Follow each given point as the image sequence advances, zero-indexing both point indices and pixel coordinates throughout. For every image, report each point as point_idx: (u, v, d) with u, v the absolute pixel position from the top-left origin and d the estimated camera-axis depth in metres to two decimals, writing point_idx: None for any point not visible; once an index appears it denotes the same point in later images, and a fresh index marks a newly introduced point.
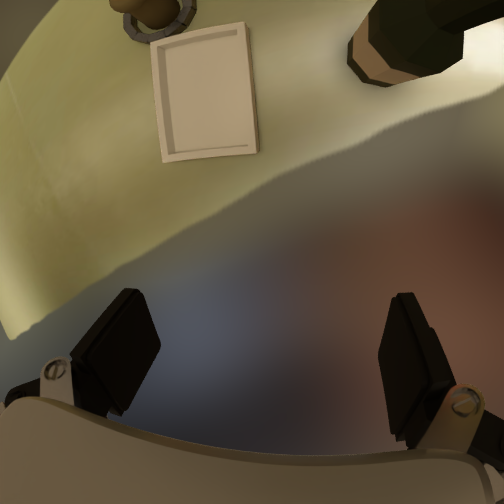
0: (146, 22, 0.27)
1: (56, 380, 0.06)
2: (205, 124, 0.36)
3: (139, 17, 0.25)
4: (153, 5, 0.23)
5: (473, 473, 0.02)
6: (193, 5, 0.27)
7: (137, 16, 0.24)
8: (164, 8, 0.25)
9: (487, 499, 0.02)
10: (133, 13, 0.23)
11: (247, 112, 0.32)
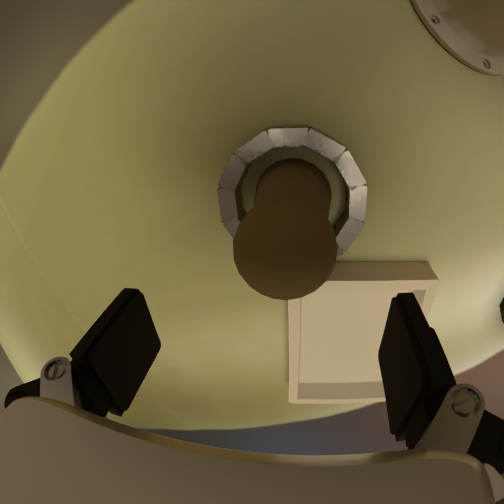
0: None
1: (56, 380, 0.06)
2: (341, 366, 0.30)
3: None
4: None
5: (473, 473, 0.02)
6: None
7: None
8: None
9: (487, 499, 0.02)
10: None
11: None
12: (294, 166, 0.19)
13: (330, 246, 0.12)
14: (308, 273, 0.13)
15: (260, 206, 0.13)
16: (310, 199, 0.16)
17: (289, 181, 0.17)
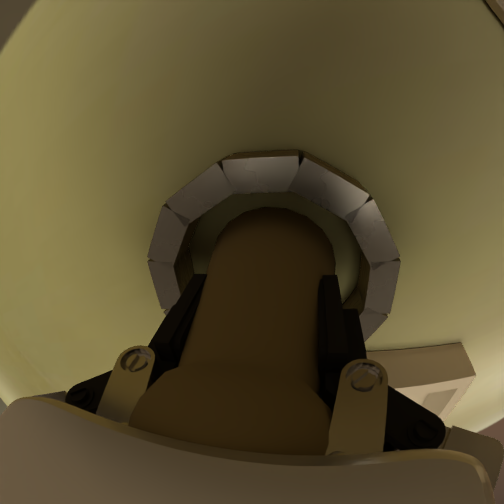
0: None
1: (132, 372, 0.07)
2: None
3: None
4: None
5: (473, 473, 0.02)
6: None
7: None
8: None
9: (487, 499, 0.02)
10: None
11: None
12: (272, 228, 0.11)
13: None
14: None
15: (160, 406, 0.05)
16: (294, 333, 0.07)
17: (255, 278, 0.09)
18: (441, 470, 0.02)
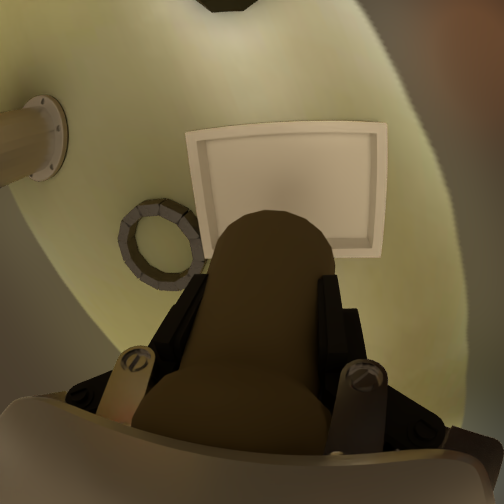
0: None
1: (132, 372, 0.07)
2: (337, 191, 0.27)
3: None
4: None
5: (473, 473, 0.02)
6: (157, 202, 0.29)
7: None
8: None
9: (487, 499, 0.02)
10: None
11: (327, 128, 0.22)
12: (271, 231, 0.11)
13: None
14: None
15: (160, 409, 0.05)
16: (293, 336, 0.07)
17: (254, 281, 0.09)
18: (441, 470, 0.02)
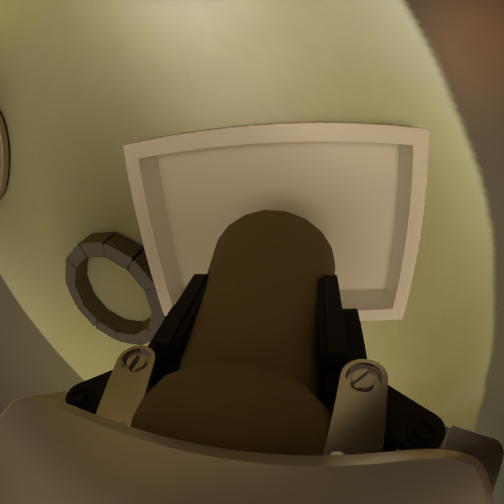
0: None
1: (132, 372, 0.07)
2: (347, 228, 0.18)
3: None
4: None
5: (473, 473, 0.02)
6: (102, 239, 0.21)
7: None
8: None
9: (487, 499, 0.02)
10: None
11: (338, 135, 0.14)
12: (271, 231, 0.11)
13: None
14: None
15: (160, 409, 0.05)
16: (293, 336, 0.07)
17: (254, 281, 0.09)
18: (441, 470, 0.02)
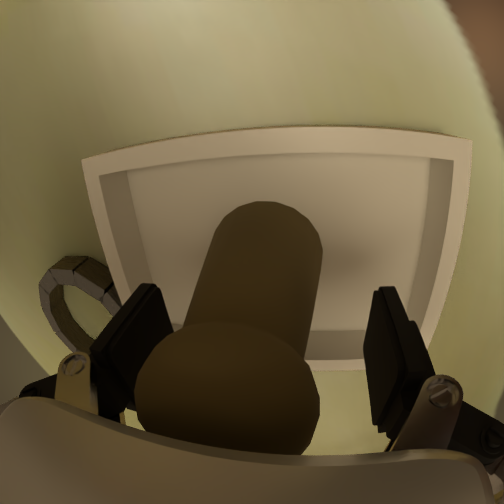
0: None
1: (74, 376, 0.06)
2: (362, 261, 0.14)
3: None
4: None
5: (473, 473, 0.02)
6: (73, 265, 0.17)
7: None
8: None
9: (487, 499, 0.02)
10: None
11: (358, 144, 0.10)
12: (261, 218, 0.12)
13: (301, 433, 0.05)
14: None
15: (162, 356, 0.06)
16: (277, 302, 0.09)
17: (244, 258, 0.10)
18: (441, 470, 0.02)
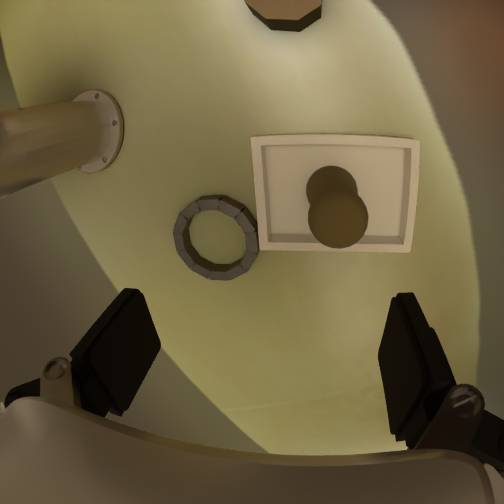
0: None
1: (56, 380, 0.06)
2: (375, 195, 0.30)
3: None
4: None
5: (473, 473, 0.02)
6: (216, 198, 0.33)
7: None
8: None
9: (487, 499, 0.02)
10: None
11: (372, 142, 0.25)
12: (334, 170, 0.28)
13: (365, 213, 0.21)
14: (354, 228, 0.21)
15: (325, 191, 0.22)
16: (349, 189, 0.24)
17: (334, 179, 0.26)
18: (441, 470, 0.02)
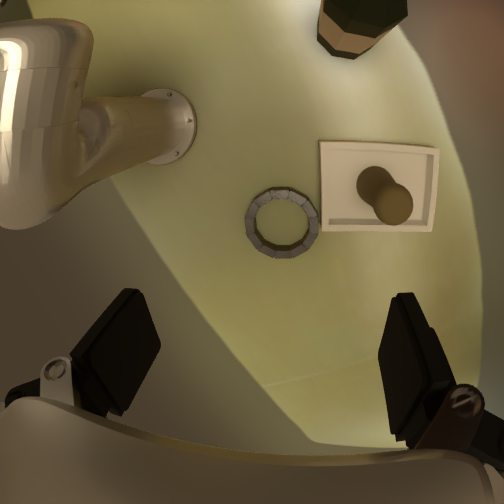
0: None
1: (56, 380, 0.06)
2: None
3: None
4: None
5: (473, 473, 0.02)
6: (286, 189, 0.41)
7: None
8: None
9: (487, 499, 0.02)
10: None
11: (407, 150, 0.33)
12: (380, 170, 0.36)
13: (412, 201, 0.29)
14: (406, 211, 0.29)
15: (386, 185, 0.30)
16: None
17: (384, 176, 0.34)
18: (441, 470, 0.02)
